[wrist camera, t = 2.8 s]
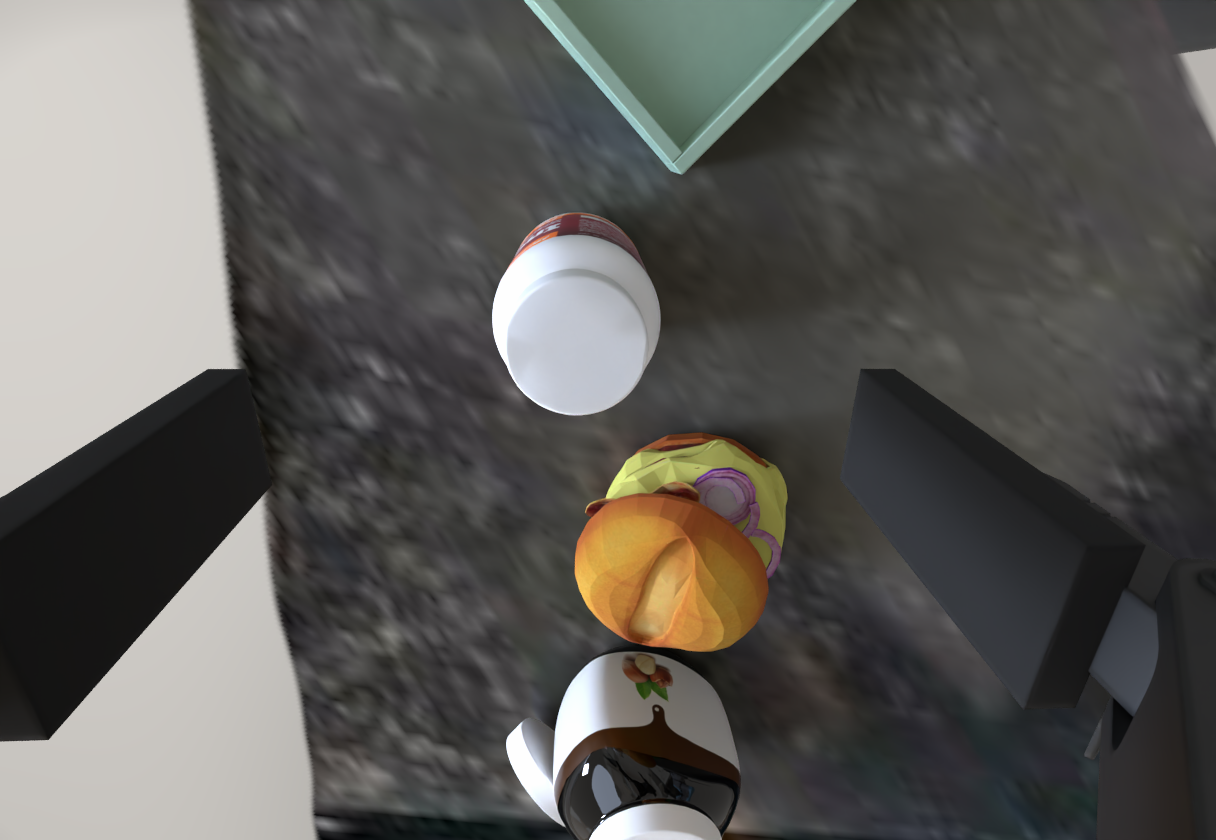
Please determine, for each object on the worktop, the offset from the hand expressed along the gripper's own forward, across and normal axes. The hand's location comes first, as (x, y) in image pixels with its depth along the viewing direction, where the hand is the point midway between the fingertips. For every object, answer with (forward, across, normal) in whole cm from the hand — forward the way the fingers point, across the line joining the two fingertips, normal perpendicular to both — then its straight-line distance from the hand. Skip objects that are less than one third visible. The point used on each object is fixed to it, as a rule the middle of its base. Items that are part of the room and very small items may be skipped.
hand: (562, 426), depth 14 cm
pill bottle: (+18, 0, 0) cm, 18 cm away
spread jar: (+18, +3, -28) cm, 33 cm away
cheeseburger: (+18, +6, -13) cm, 23 cm away
